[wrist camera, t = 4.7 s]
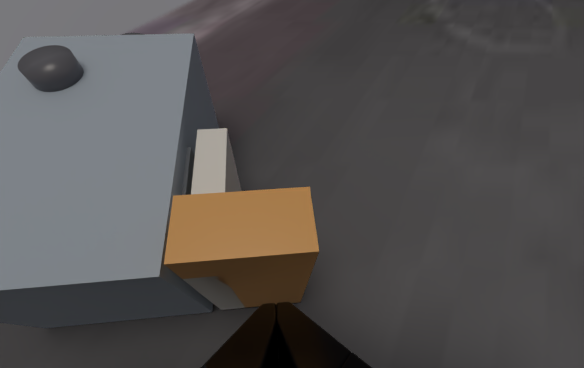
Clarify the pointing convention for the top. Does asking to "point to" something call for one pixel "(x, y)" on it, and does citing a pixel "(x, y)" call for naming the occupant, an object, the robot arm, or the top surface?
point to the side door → (239, 233)
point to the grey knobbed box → (96, 176)
